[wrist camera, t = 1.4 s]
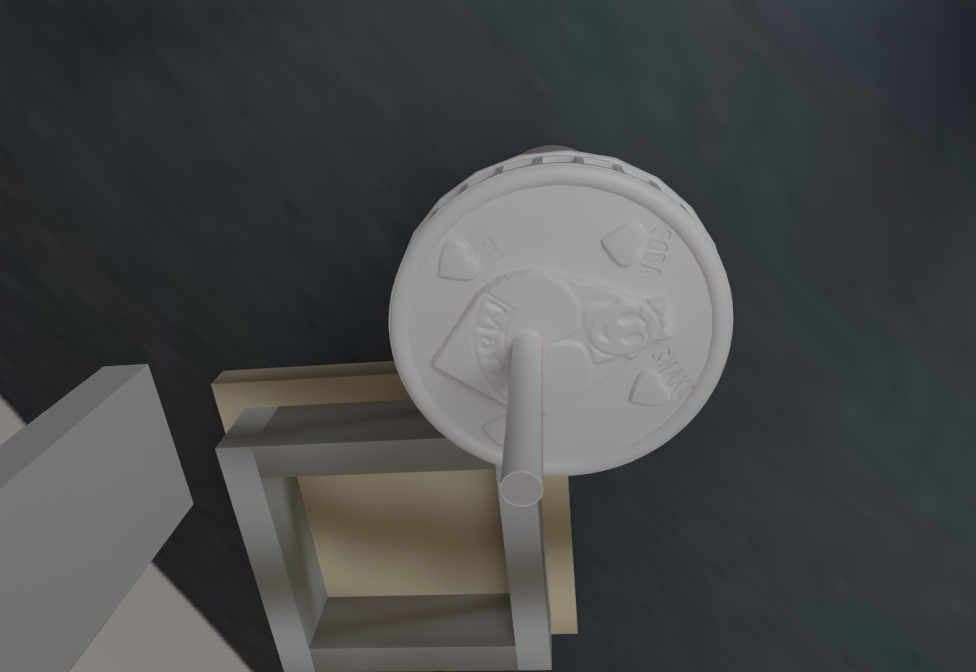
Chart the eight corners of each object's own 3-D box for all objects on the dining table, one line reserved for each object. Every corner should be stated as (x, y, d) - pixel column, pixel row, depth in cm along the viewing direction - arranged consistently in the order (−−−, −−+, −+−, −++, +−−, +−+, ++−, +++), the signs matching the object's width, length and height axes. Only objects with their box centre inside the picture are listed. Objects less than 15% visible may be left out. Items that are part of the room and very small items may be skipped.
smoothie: (424, 126, 21) (236, 301, 8) (639, 72, 20) (818, 175, 7) (476, 319, 23) (397, 684, 10) (670, 280, 22) (843, 635, 9)
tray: (222, 370, 25) (176, 423, 22) (560, 351, 23) (563, 403, 20) (294, 618, 30) (265, 690, 26) (576, 613, 28) (580, 689, 25)
